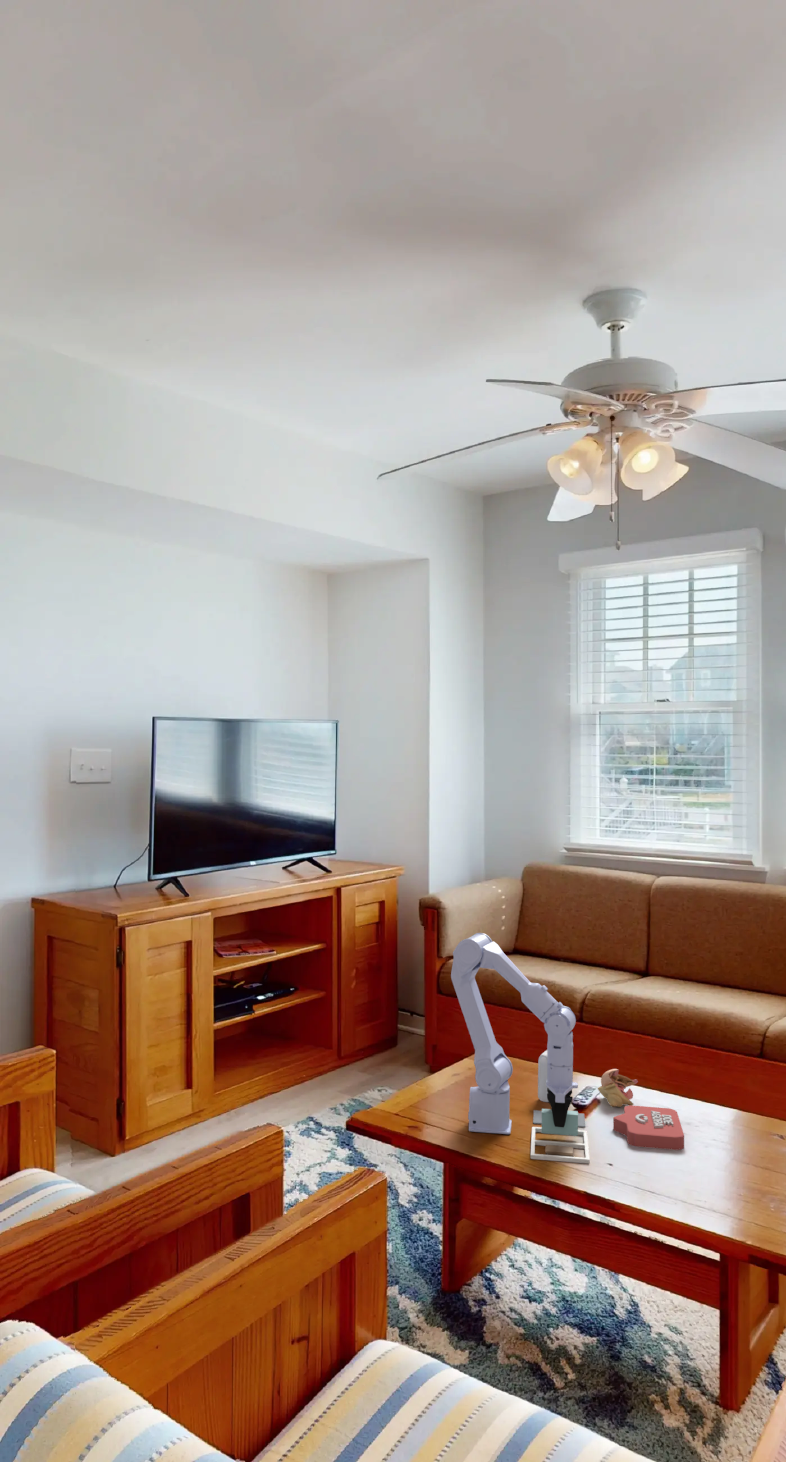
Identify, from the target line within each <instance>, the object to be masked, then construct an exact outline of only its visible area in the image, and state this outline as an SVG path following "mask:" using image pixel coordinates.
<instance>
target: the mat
mask: <svg viewBox="0 0 786 1462" xmlns="http://www.w3.org/2000/svg"><path fill="white" fill-rule="evenodd" d="M532 1124H535V1125H542V1110H539V1109H538V1110H537V1109H533V1118H532ZM578 1128H584V1129H585V1128H586V1118H585V1113H579V1112H578Z"/></svg>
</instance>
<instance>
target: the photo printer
mask: <svg viewBox="0 0 786 1462" xmlns="http://www.w3.org/2000/svg"><path fill="white" fill-rule="evenodd" d="M537 1060H538V1064H537V1066H538V1067H537V1070H538V1071H537V1097H538V1099H539V1100H540V1101H541V1102H544V1103H549V1101H548V1099H547V1093H548V1092H547V1088H548V1087H547V1086H546V1081H547V1049H546V1050H544V1052H542V1053H541V1054H540V1056H539V1057H538V1059H537Z"/></svg>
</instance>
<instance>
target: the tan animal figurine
mask: <svg viewBox="0 0 786 1462" xmlns="http://www.w3.org/2000/svg"><path fill="white" fill-rule="evenodd" d="M619 1071H620V1070H619V1069H617V1068H612V1069H608V1070H607V1071H605V1072H604V1073H603V1074H602V1076H601V1078H600V1083H601V1086H598V1087H597V1090H598V1092H599V1093H600V1094H601V1095H602V1096H603V1097H604V1098H605V1099H607V1102H608V1103H609V1106H610V1107H612V1108H616V1107H618V1108H621V1107H622V1106H624V1105H625V1106H629V1105H632V1106H635V1104H634V1103H633V1102H632V1101H631V1100H632V1099H633V1097H634V1092H633V1090H632V1089H631V1088H628V1087H631V1086H634V1085H636V1084H637V1083H639V1081H638V1079H631V1078H629V1077H628V1076H624V1075H622V1074H619ZM626 1088H628V1090H627V1091H625V1090H626Z"/></svg>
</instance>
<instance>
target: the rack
mask: <svg viewBox="0 0 786 1462" xmlns="http://www.w3.org/2000/svg"><path fill="white" fill-rule="evenodd" d="M536 1133H542V1126H541V1127H540V1126H532V1127H531V1136H530V1137H531V1139H530V1140H531V1141H530V1159H531V1160H541V1161H553V1162H554V1161H555V1162H565V1163H566V1162H567V1163H577V1164H591V1163H590V1161H591V1159H590V1150H589V1149H590V1148H589V1138H588V1131H587V1130H582V1129H581V1130H579V1129H578V1136H583V1142H580V1143H579V1142H568V1141H567V1142H566V1141H554V1140H553V1141H552V1140H540V1139H536ZM546 1145H556V1146H567V1147H573V1149H581V1150H582V1149H584V1156H585V1157H581V1156H574V1157H569V1156H556V1155H546V1154H542V1153H541V1154H540V1153H536V1152H535V1151H536V1150H535V1149H536V1146H543V1147H546Z"/></svg>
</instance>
